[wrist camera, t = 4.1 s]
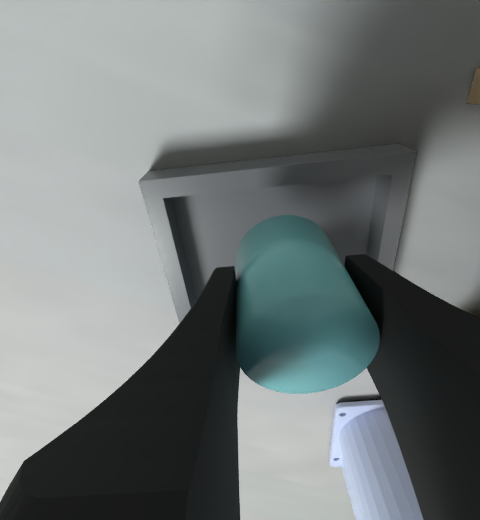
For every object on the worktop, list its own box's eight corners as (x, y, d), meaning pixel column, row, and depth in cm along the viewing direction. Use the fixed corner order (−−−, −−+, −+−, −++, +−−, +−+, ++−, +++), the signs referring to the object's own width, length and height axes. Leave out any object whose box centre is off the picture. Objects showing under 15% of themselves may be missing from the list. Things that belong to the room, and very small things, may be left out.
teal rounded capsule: (330, 290, 12) (372, 387, 8) (242, 300, 12) (245, 398, 9) (333, 208, 10) (389, 286, 6) (229, 221, 10) (225, 304, 7)
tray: (363, 321, 19) (377, 347, 17) (195, 334, 20) (190, 361, 18) (391, 140, 13) (417, 151, 11) (152, 167, 14) (138, 181, 12)
